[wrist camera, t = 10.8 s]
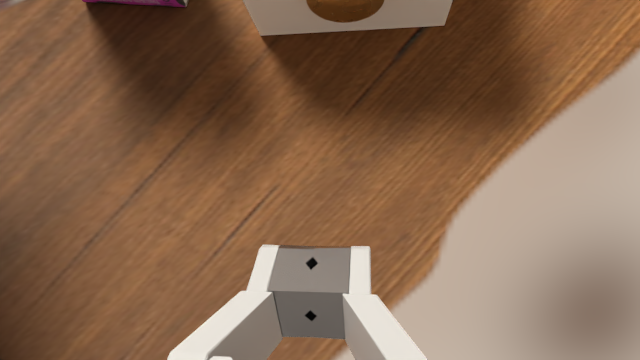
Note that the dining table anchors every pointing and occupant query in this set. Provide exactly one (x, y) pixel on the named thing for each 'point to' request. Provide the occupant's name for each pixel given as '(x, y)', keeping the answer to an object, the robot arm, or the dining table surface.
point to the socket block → (296, 17)
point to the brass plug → (344, 9)
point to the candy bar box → (146, 2)
